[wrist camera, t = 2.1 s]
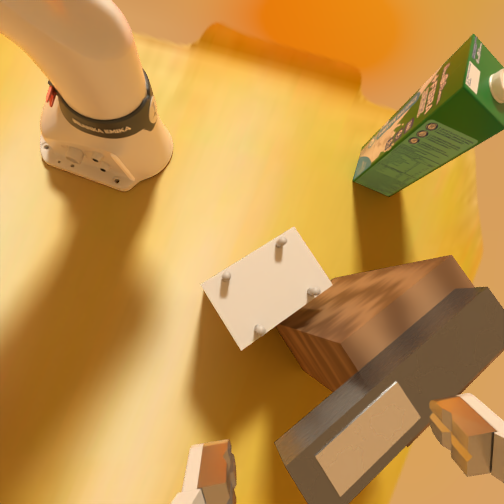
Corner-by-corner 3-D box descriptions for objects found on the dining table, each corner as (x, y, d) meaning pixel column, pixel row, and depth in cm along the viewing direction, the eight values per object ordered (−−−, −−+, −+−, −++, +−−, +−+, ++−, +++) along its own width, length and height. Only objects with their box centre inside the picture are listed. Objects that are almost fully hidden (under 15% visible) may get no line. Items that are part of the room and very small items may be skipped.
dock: (230, 334, 45) (243, 353, 28) (203, 290, 46) (199, 283, 28) (293, 290, 48) (339, 283, 31) (267, 250, 49) (298, 222, 32)
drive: (306, 495, 20) (323, 530, 17) (274, 442, 20) (285, 467, 17) (483, 328, 25) (521, 331, 22) (455, 288, 25) (488, 286, 22)
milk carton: (389, 197, 56) (528, 116, 31) (352, 181, 55) (464, 85, 31) (397, 162, 58) (533, 61, 33) (362, 147, 57) (474, 31, 33)
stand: (303, 370, 46) (407, 446, 21) (272, 322, 46) (340, 343, 22) (364, 321, 49) (513, 340, 25) (334, 277, 50) (451, 254, 26)
